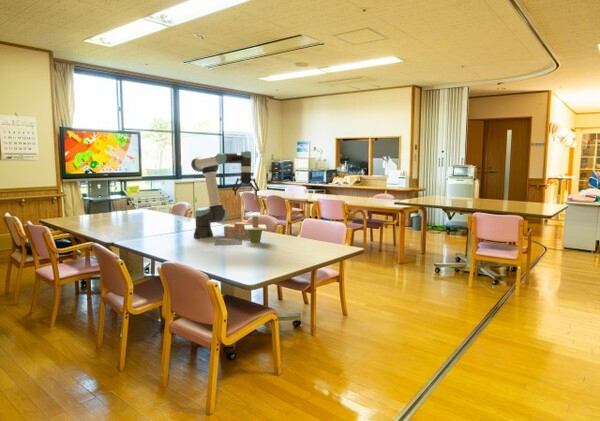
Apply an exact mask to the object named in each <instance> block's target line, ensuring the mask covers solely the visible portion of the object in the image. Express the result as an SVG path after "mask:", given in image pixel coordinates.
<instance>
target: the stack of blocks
mask: <svg viewBox="0 0 600 421" xmlns="http://www.w3.org/2000/svg"><path fill="white" fill-rule="evenodd" d="M244 225H252V222H241V221H240V222H239V221H236V222H234V225H230V224H229V225H224V226H223V231H224V232H223V236H224V238H234V239H235V238H237V239H247V240H248V239H249V240H250V235H249V231H248V230H245V227H244Z"/></svg>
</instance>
